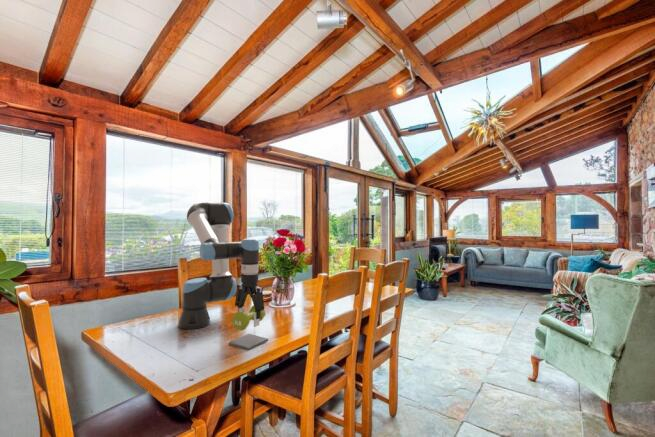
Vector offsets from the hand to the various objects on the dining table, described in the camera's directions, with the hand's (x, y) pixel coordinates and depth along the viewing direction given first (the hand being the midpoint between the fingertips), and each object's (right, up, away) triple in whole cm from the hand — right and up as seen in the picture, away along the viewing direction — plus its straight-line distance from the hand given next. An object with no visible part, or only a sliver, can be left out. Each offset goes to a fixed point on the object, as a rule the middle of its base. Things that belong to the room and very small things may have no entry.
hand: (249, 323), depth 141 cm
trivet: (0, -8, 0) cm, 8 cm away
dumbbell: (0, -1, 0) cm, 1 cm away
